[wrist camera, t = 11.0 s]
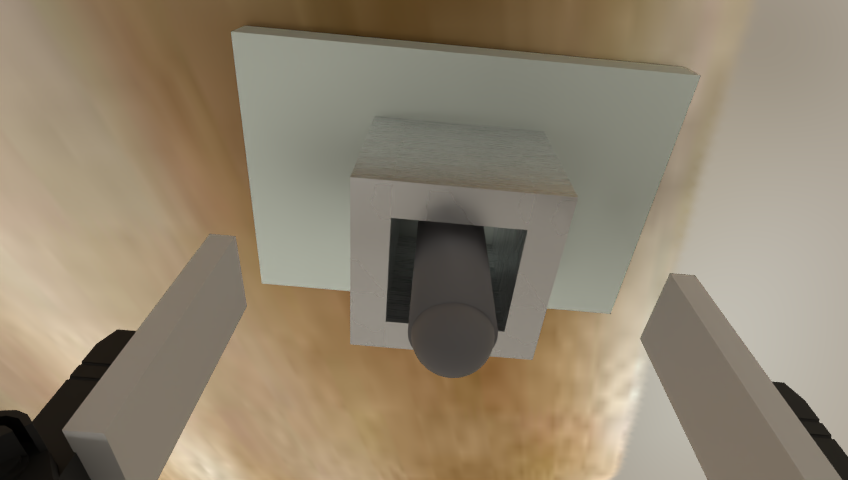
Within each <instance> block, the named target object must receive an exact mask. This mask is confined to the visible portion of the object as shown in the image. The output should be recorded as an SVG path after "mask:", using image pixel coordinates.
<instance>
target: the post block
mask: <svg viewBox="0 0 848 480" xmlns="http://www.w3.org/2000/svg"><path fill="white" fill-rule="evenodd" d="M231 36H232V45H233V53H234V61H235V69H236V77H237V85H238V93H239V101H240V109H241V118H242V126H243V134H244V142H245V150H246V158H247V166H248V174H249V182H250V190H251V199H252V207H253V215H254V223H255V231H256V239H257V247H258V255H259V263H260V272H261V280H262V283H264V284H275V285H286V286H298V287H309V288H321V289H332V290H344V291H350V176H351V174H352V171H353V169H354V166H355V164H356V161H357V159H358V156H359V154H360V151H361V149H362V146H363V144H364V141H365V139H366V136H367V134H368V131H369V129H370V126H371V124H372V121H373V119H374V116H382V117H393V118H404V119H415V120H426V121H437V122H448V123H459V124H470V125H481V126H492V127H503V128H514V129H524V130H535V131H544V132H545V134H546V136H547V138H548V140H549V142H550V144H551V146H552V148H553V150H554V152H555V154H556V156H557V158H558V159H559V161H560V163H561V165H562V167H563V169H564V171H565V173H566V175H567V177H568V179H569V181H570V183H571V185H572V186H573V188H574V190H575V192H576V194H577V196H578V200H577V204H576V207H575V211H574V214H573V218H572V221H571V225H570V228H569V232H568V235H567V239H566V242H565V246H564V250H563V253H562V257H561V260H560V264H559V267H558V271H557V274H556V278H555V281H554V285H553V288H552V292H551V296H550V299H549V303H548V306H547V308H549V309H561V310H572V311H583V312H595V313H606V314H611V311H612V308H613V306H614V303H615V300H616V298H617V295H618V293H619V290H620V287H621V285H622V282H623V279H624V277H625V274H626V271H627V269H628V266H629V264H630V261H631V258H632V256H633V253H634V250H635V248H636V245H637V242H638V240H639V237H640V234H641V232H642V229H643V227H644V224H645V221H646V219H647V216H648V213H649V211H650V208H651V205H652V203H653V200H654V198H655V195H656V192H657V190H658V187H659V184H660V182H661V179H662V176H663V174H664V171H665V169H666V166H667V163H668V161H669V158H670V155H671V153H672V150H673V147H674V145H675V142H676V139H677V137H678V134H679V132H680V129H681V126H682V124H683V121H684V118H685V116H686V113H687V110H688V108H689V105H690V103H691V100H692V97H693V95H694V92H695V89H696V87H697V84H698V81H699V79H700V75H698V74H697V73H695V72H693V71H691V70H689V69H687V68H685V67H680V66H669V65H658V64H648V63H637V62H627V61H616V60H605V59H595V58H584V57H573V56H563V55H552V54H542V53H531V52H520V51H510V50H499V49H488V48H478V47H467V46H457V45H446V44H435V43H425V42H414V41H403V40H393V39H382V38H372V37H361V36H350V35H340V34H329V33H318V32H308V31H297V30H287V29H276V28H265V27H255V26H243V27H240V28H238V29H236V30H233V31H231ZM493 231H494V227H488V226H477V225H466V224H454V223H443V222H432V221H420V220H409V219H400V226H399V236H402V237H413V238H417V239H416V249H415V260H414V270H413V281H412V291H411V302H410V313H409V323H408V339H409V342H410V344H411V346H412V348H413V349H414V352H415V354H416V356H417V358H418V359H419V360H420V362H421V363H422V364H423V365H424V366H425V367H426V368H427V369H428V370H430V371H431V372H433V373H435V374H437V375H440V376H443V377H448V378H459V377H464V376H467V375H470V374H472V373H473V372H475V371H477V370H478V369H479V368H481V367H482V366H483V364H484V363H485V362H486V361H487V359H488V358H489V356H490V354H491V352H492V349H493V348H494V346H495V344H496V341H497V338H498V328H497V320H496V313H495V305H494V298H493V291H492V283H491V276H490V269H489V261H488V254H487V247H486V244H491V242H492V237H493Z"/></svg>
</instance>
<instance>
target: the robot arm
mask: <svg viewBox="0 0 848 480" xmlns="http://www.w3.org/2000/svg"><path fill="white" fill-rule="evenodd" d="M246 307H247V304H246V298H245V292H244V286H243V279H242V273H241V267H240V261H239V255H238V248H237V242H236V236H228V235H216V234H209V236H208V237H207V238H206V240H205V241H204V242H203V244H202V245H201V246H200V248H199V249H198V250H197V251H196V253H195V254H194V255H193V257H192V258H191V259H190V261H189V262H188V263H187V265H186V266H185V267H184V269H183V270H182V271H181V273H180V274H179V275H178V277H177V278H176V279H175V281H174V282H173V283H172V285H171V286H170V287H169V289H168V290H167V291H166V293H165V294H164V295H163V297H162V298H161V299H160V301H159V302H158V303H157V305H156V306H155V307H154V309H153V310H152V311H151V313H150V314H149V315H148V316H147V318H146V319H145V320H144V322H143V323H142V324H141V326H140V327H139V328H138V330H137V331H129V330H116V331H115V332H113V333H112V334H110V335H109V336H107V337H106V338H104V339H103V340H102V341H100V342H99V343H97V344H96V345H95V346H94V348H93V349H92V350H91V351H90V352H89V354H88V355H87V356H86V357H85V358H84V360H83V361H82V364H81V365H79V366H78V367H77V368H76V369H75V371H74V372H73V373H72V374H71V375H70V379H69V380H66V381H65V383H64V384H63V385H62V386H61V387H60V389H59V390H58V391H57V392H56V394H55V395H54V396H53V397H52V398H51V400H50V401H49V402H48V403H47V404H46V406H45V407H44V408H43V409H42V410H41V412H40V413H39V414H38V415H37V417H36V418H35V419H34V420H33V421H31V419H30V418H29V416H28V415H27V414H25V413H22V412H20V411H17V410H5V411H0V480H158V478H159V476H160V474H161V472H162V470H163V468H164V466H165V464H166V462H167V460H168V458H169V457H170V455H171V453H172V451H173V449H174V447H175V445H176V443H177V441H178V439H179V437H180V435H181V433H182V431H183V429H184V427H185V425H186V423H187V422H188V420H189V418H190V416H191V414H192V412H193V410H194V408H195V406H196V404H197V402H198V400H199V398H200V396H201V394H202V392H203V390H204V388H205V386H206V385H207V383H208V381H209V379H210V377H211V375H212V373H213V371H214V369H215V367H216V365H217V363H218V361H219V359H220V357H221V355H222V353H223V351H224V349H225V348H226V346H227V344H228V342H229V340H230V338H231V336H232V334H233V332H234V330H235V328H236V326H237V324H238V322H239V320H240V318H241V316H242V314H243V313H244V311H245V309H246ZM640 339H641V341H642V344H643V346H644V348H645V350H646V352H647V354H648V356H649V358H650V360H651V362H652V364H653V367H654V369H655V371H656V373H657V375H658V377H659V379H660V381H661V383H662V385H663V387H664V389H665V392H666V393H667V396H668V397H669V400H670V402H671V404H672V406H673V408H674V410H675V412H676V415H677V417H678V419H679V421H680V423H681V425H682V427H683V429H684V431H685V434H686V435H687V437H688V440H689V442H690V444H691V446H692V448H693V450H694V452H695V454H696V457H697V459H698V461H699V463H700V465H701V467H702V469H703V471H704V473H705V475H706V477H707V480H848V456H847V455H846V454H845V453H844V452H843V450H842V449H841V447H840V446H839V445H838V444H837V442H836V441H835V440H834V439H831V434H830V433H829V432H828V430H827V429H826V428H825V426H824V425H823V424H822V423H819V418H818V417H817V416H816V414H815V413H814V412H813V411H812V409H811V408H810V407H809V405H808V404H807V403H806V401H805V400H804V399H803V398H801V397H800V396H799V395H798V394H796V393H795V392H794V391H793V390H792V389H791V388H789V387H788V386H787V385H786V384H785V383H780V382H772V381H771V380H770V379H769V377H768V376H767V375H766V373H765V372H764V370H763V369H762V368H761V366H760V365H759V363H758V362H757V361H756V360H755V358H754V357H753V355H752V354H751V352H750V351H749V350H748V348H747V347H746V345H745V344H744V343H743V341H742V340H741V338H740V337H739V336H738V335H737V333H736V332H735V330H734V329H733V328H732V326H731V325H730V323H729V322H728V320H727V319H726V318H725V316H724V315H723V313H722V312H721V311H720V309H719V308H718V307H717V305H716V304H715V302H714V301H713V300H712V298H711V297H710V296H709V294H708V293H707V291H706V290H705V289H704V287H703V286H702V284H701V283H700V282H699V280H698V279H697V277H696V276H695V275H685V274H674V273H670V274H669V277H668V279H667V281H666V283H665V285H664V288H663V290H662V292H661V294H660V296H659V298H658V301H657V303H656V305H655V307H654V309H653V312H652V314H651V316H650V318H649V320H648V323H647V325H646V327H645V329H644V331H643V333H642V336H641V338H640Z"/></svg>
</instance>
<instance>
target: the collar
mask: <svg viewBox="0 0 848 480" xmlns="http://www.w3.org/2000/svg"><path fill="white" fill-rule="evenodd" d="M577 200H578V196H577V194H576V192H575V190H574V188H573V186H572V185H571V183H570V181H569V179H568V177H567V175H566V173H565V171H564V169H563V167H562V165H561V163H560V161H559V159H558V158H557V156H556V154H555V152H554V150H553V148H552V146H551V144H550V142H549V140H548V138H547V136H546V134H545V132H544V131H535V130H524V129H514V128H503V127H492V126H481V125H470V124H459V123H448V122H437V121H426V120H415V119H404V118H393V117H382V116H374V119H373V121H372V124H371V126H370V129H369V131H368V134H367V136H366V139H365V141H364V144H363V146H362V149H361V151H360V154H359V156H358V159H357V161H356V164H355V166H354V169H353V171H352V174H351V176H350V344H353V345H365V346H377V347H388V348H400V349H412V350H414V349H413V348H412V346H411V344H410V342H409V339H408V323H409V313H410V302H411V291H412V281H413V270H414V260H415V249H416V239H417V238H413V237H402V236H399V226H400V219H409V220H420V221H432V222H443V223H454V224H466V225H477V226H488V227H494V231H493V237H492V242H491V244H486V247H487V254H488V261H489V269H490V276H491V283H492V291H493V298H494V305H495V313H496V320H497V328H498V338H497V341H496V344H495V346H494V348H493V349H492V352H491V354H490V356H494V357H505V358H517V359H529V360H532V359H533V356H534V352H535V349H536V345H537V342H538V338H539V334H540V331H541V327H542V324H543V320H544V317H545V313H546V310H547V306H548V303H549V299H550V296H551V292H552V288H553V285H554V281H555V278H556V274H557V271H558V267H559V264H560V260H561V257H562V253H563V250H564V246H565V242H566V239H567V235H568V232H569V228H570V225H571V221H572V218H573V214H574V211H575V207H576V204H577Z"/></svg>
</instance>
